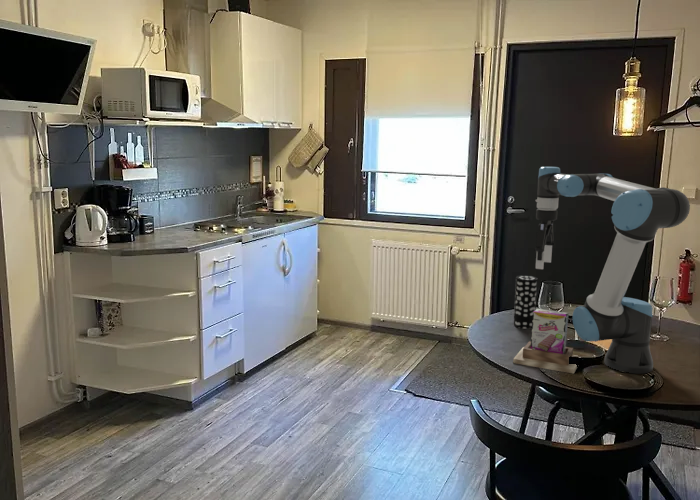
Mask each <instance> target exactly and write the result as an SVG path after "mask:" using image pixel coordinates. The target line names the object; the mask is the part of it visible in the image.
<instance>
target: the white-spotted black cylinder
mask: <svg viewBox="0 0 700 500" xmlns="http://www.w3.org/2000/svg"><path fill="white" fill-rule="evenodd" d="M537 290H538V277H536V276H533V275H516V277H515V291H514V292H515V293H514V294H515V295H514V310H513V311H514V312H513V327H516V328H517V329H523V330H524V329H525V330H526V329H527V330H529V329H532V321H533V311H534V310H535V309H536V307H537V296H538V295H537V293H538V291H537Z"/></svg>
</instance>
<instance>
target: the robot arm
mask: <svg viewBox="0 0 700 500" xmlns="http://www.w3.org/2000/svg"><path fill="white" fill-rule="evenodd" d="M560 196H564V197H565V198H566V197H567V198H568V197H569V198H570V197H571V198H574V197H577V196H596V197H600V198H603V199H607V200H610V201H612V202H613V203H612V207H611V214H612V216H611V220H612V223H613V225H614V226H613V227H614V230H615V232H616V235H615V237H614V241H613V243H612V245H611V249H610V251H609V254H608V256H607V259H606V262H605V264H604V267H603V269H602V272H601V275H600V277H599V280H598V281H597V285H596V288H595V291H594V292H593V293H592V294H589V295H588V296H587V297H586V300H585V302H584V304H583V305H579V306H577V307H575V308H574V309H573V311H572V318H571V319H572V325H573V329H574V331H575V332H576V334H577V336H578V337H579V338H580V339H581V340H583V341H585V342H600V341H608V340H609V341H610V340H611V343H610V345H609V347H608V349H607V350H606V353H605V356H604V365H606V366H607V367H608V366H609V367H608V368H610V367H611V368H610V369H612V368H613V369H612V370H614V369H616V370H615V371H617V370H619V371H618V372H621V371H625V372H624V373H626V372H629V373H628V374H635V375H637V374H640V375H641V374H647V373H650V372H652V371H653V370H654V361H653V357H652V352H651V348H650V342H651V341H650V340H651V330H652V325H653V324H652V323H653V317H654V315H653V305H651V303H649V302H647V301H645V300H641V299H638V298H633V297H628V296H627V297H626V296H625V295H626V293H627V290H628V287H629V286H630V282H631V281H632V278H633V275H634V273H635V270H636V268H637V266H638V263H639V261H640V259H641V256H642V254H643V251H644V249H645V246H646V244H647V243H649V242H652V241H653V240H654V239H655V236H656V235H657V232H658V230H659V229H668V228H674V227H676V226H679V225H680V224H682V223H683V222H685V221H686V219H687V218H688V217H689V216H688V215H689V213H690V210H691V205H690V201H689V198H688V197H687V195H686V194H685V193H684V192H682V191H680V190H677V189H674V188H668V187H663V186H662V187H659V188H654V187H651V186H647V185H643V184H639V183H635V182H630V181H626V180H624V179H619V178H616V177H613V175H612V174H610V173H600V172H599V173H575V174H574V173H571V174H569V173H567V174H566V173H562V172H561V168H560V167H558V166H540V168H539V169H538V177H537V197H536V198H537V199H535V202H536V208H537V209H536V211H535V212H536V213H535V219H536V220H538V221H541V223H539V224H538V230H537V236H536V237H537V238H536V242H535V243H536V244H535V248H533V249H534V252H535V253H536V256H535V257H536V258H535V269H536V270H544V266H545V265H544V264H545V263H552V253H553V246H555V243H556V242H554V241H555V240H554V221H556V220H558V212H559V211H558V208H559V198H560Z"/></svg>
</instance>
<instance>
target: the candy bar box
mask: <svg viewBox="0 0 700 500" xmlns="http://www.w3.org/2000/svg"><path fill="white" fill-rule="evenodd" d="M568 323H569V312H563V311H558V310H557V311H556V310H552V309H551V310H550V309H543V308H536V309H535V310H534V311H533V321H532V328H531V335H530V336H531V338H530V341H531V348H530V349H535V350H541V351H547V352H553V353H560V354H565V350H566V347H567V336H568Z"/></svg>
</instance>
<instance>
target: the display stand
mask: <svg viewBox="0 0 700 500" xmlns="http://www.w3.org/2000/svg"><path fill="white" fill-rule="evenodd" d="M530 348H531V340H529V341H528V342H527V343H526V345H525V346H523V347H522V348H521V349H520V350H519V352H518V353H516V355H515V356H514V357H513V362H512V363H513V364H515V365H516V364H517V365H523V366H527V367H534V368H535V367H536V368H538V369H539V368H540V369H545V370H550V371H551V370H552V371H556V372H557V371H558V372H561V373H568V374H569V373H570V374H573V375H574V374H575V372H576V370H577V369H578V367H577V365H576V364H569V357H570V356H577V354H576V355H575V354H574V347H568V346H566V350H565V354H560V353H553V352H547V351H541V350H535V349H530Z"/></svg>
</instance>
